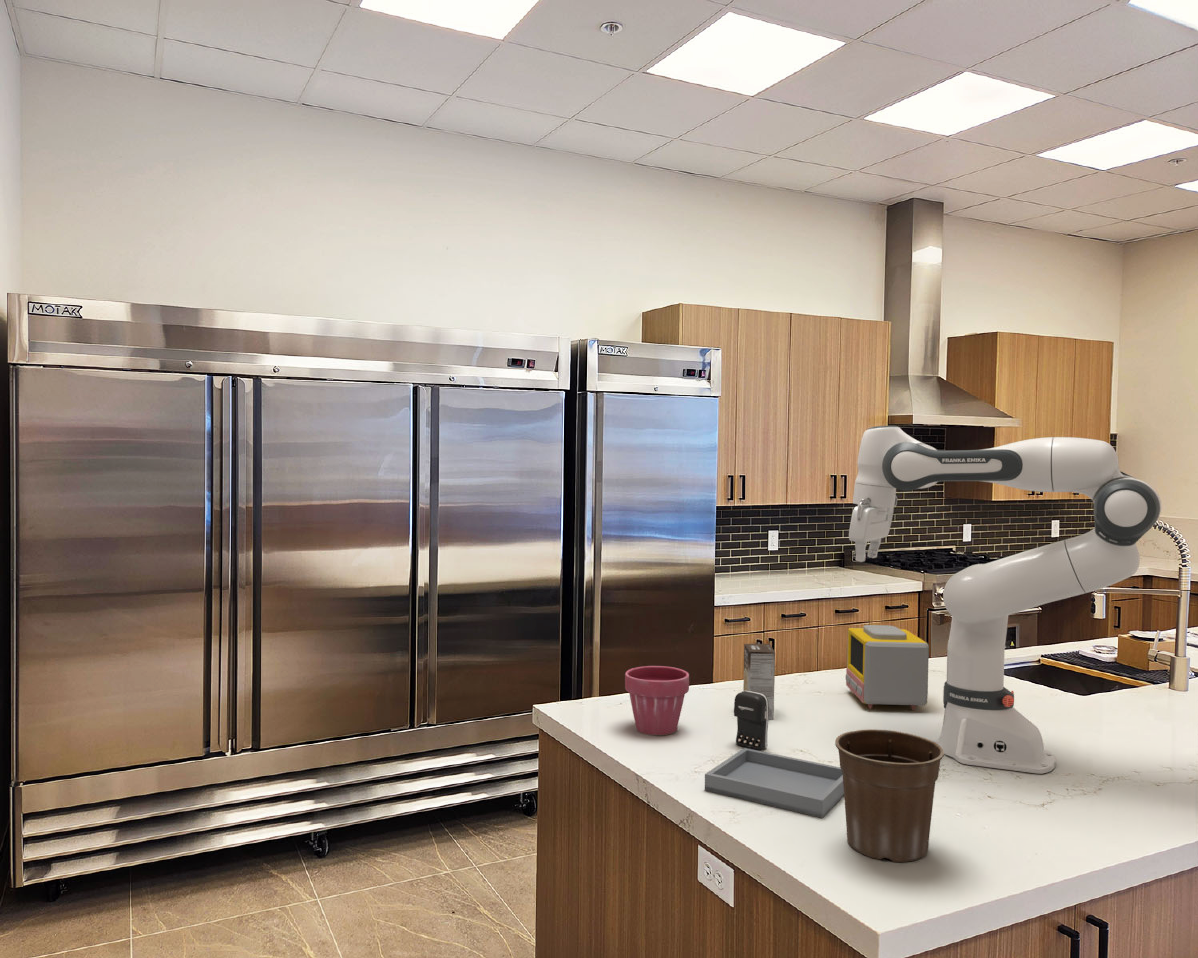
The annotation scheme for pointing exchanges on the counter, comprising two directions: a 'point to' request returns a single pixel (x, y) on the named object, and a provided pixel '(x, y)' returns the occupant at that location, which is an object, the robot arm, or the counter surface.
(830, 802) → the tray
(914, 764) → the plant pot
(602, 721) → the counter surface
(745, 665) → the coffee box
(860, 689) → the alarm clock
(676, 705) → the plant pot
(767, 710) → the battery charger
